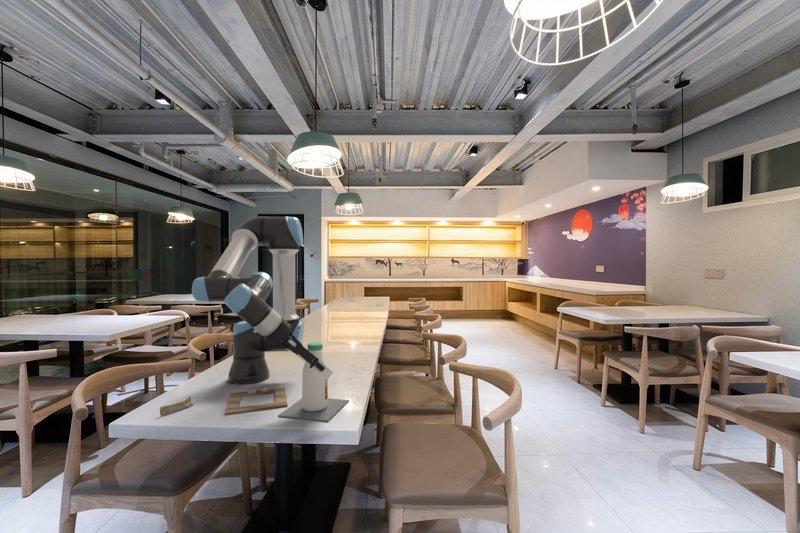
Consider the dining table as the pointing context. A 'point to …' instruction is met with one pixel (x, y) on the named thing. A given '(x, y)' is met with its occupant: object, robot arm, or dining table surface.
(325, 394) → the milk bottle
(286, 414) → the rubber mat
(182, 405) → the snack bar
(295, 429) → the dining table surface
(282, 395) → the wooden frame
